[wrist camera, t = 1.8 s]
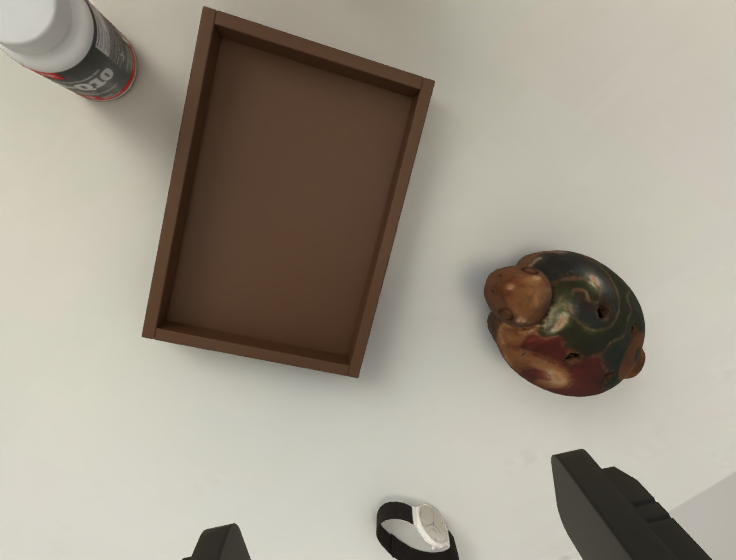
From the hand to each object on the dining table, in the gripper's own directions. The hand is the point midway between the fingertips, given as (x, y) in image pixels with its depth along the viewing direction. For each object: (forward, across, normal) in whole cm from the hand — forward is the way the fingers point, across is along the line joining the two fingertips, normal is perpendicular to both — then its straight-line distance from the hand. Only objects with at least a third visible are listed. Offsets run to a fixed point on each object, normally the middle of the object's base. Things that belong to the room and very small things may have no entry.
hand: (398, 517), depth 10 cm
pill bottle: (+21, +13, -19) cm, 31 cm away
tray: (+21, +4, -7) cm, 23 cm away
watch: (+20, +1, +20) cm, 29 cm away
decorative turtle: (+23, -13, +5) cm, 26 cm away
